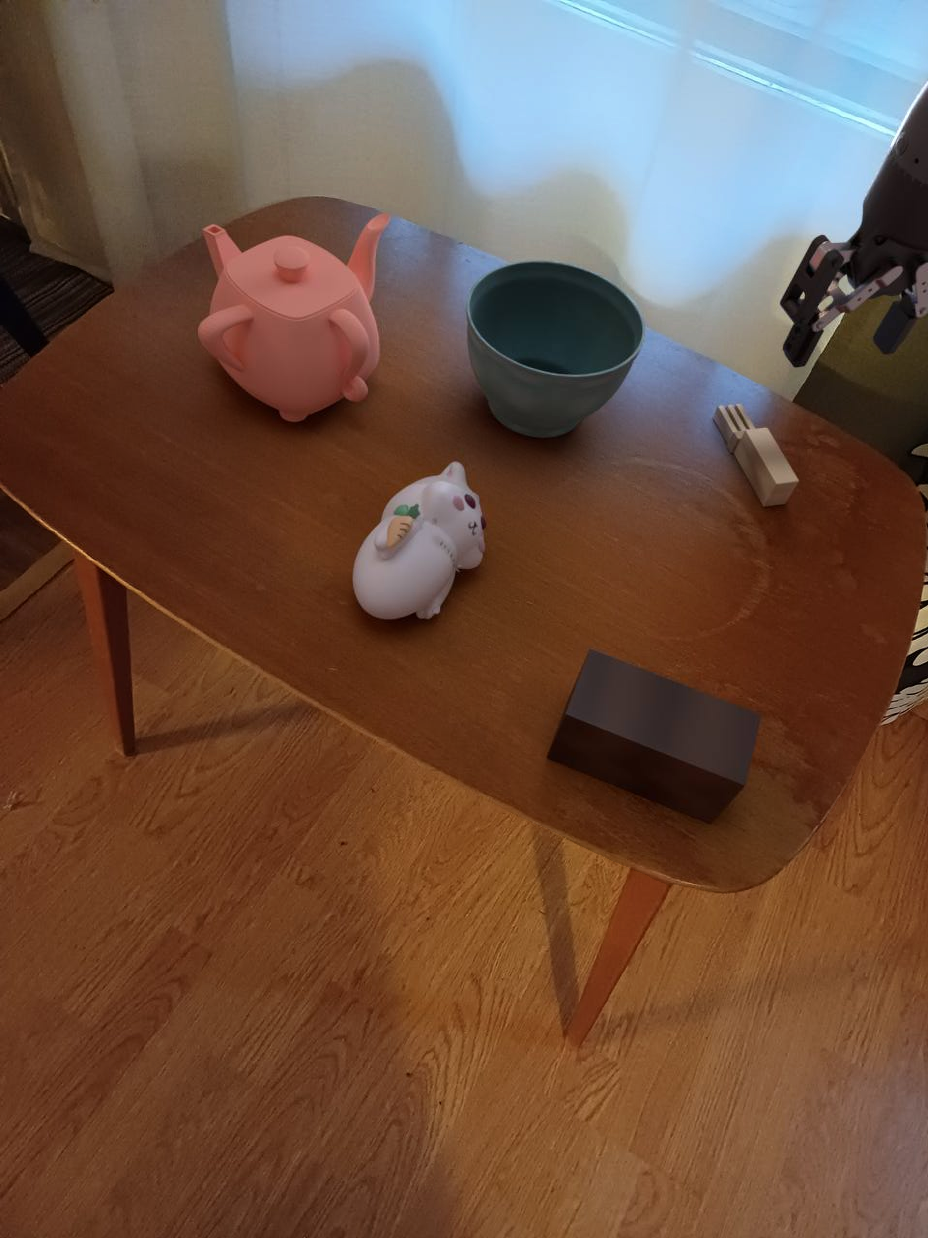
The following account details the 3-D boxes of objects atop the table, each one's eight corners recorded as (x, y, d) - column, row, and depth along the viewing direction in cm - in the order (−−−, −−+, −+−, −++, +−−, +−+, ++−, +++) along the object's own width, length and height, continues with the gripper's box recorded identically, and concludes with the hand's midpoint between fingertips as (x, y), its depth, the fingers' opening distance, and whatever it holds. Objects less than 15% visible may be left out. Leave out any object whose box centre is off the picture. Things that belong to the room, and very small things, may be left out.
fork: (788, 503, 88) (802, 480, 85) (760, 507, 87) (773, 484, 84) (737, 414, 94) (748, 390, 91) (710, 417, 93) (721, 393, 91)
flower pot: (478, 333, 96) (493, 240, 87) (628, 376, 95) (659, 286, 86) (433, 436, 87) (444, 344, 78) (598, 485, 86) (628, 397, 77)
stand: (727, 757, 72) (761, 714, 66) (711, 824, 68) (745, 785, 62) (569, 694, 73) (589, 647, 67) (546, 757, 70) (565, 713, 64)
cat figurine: (377, 572, 66) (479, 433, 72) (302, 560, 71) (404, 430, 77) (433, 655, 72) (523, 520, 79) (361, 639, 77) (451, 512, 84)
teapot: (214, 319, 93) (199, 193, 82) (383, 323, 96) (390, 202, 85) (207, 435, 84) (189, 311, 73) (393, 436, 87) (403, 318, 76)
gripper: (891, 199, 57) (785, 398, 70) (1069, 182, 61) (936, 374, 74) (829, 132, 61) (739, 333, 74) (1000, 120, 64) (885, 313, 78)
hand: (838, 353), depth 74 cm, fingers open, 8 cm apart
